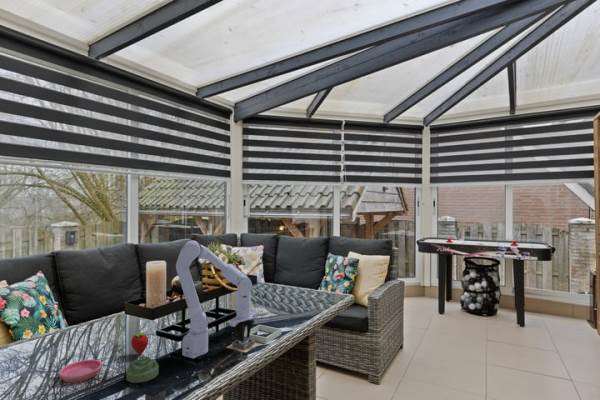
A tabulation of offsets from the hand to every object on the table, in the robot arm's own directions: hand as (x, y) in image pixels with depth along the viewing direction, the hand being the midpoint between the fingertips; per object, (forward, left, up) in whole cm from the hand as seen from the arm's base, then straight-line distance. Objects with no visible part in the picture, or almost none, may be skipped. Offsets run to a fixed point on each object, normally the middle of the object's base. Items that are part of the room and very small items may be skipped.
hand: (243, 339), depth 137 cm
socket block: (0, 0, -3) cm, 3 cm away
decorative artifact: (-35, +16, -4) cm, 38 cm away
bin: (+12, -1, -3) cm, 13 cm away
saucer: (-45, +34, -4) cm, 57 cm away
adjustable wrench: (+31, +22, -4) cm, 38 cm away
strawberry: (-25, +31, -4) cm, 40 cm away
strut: (0, 0, -3) cm, 3 cm away
